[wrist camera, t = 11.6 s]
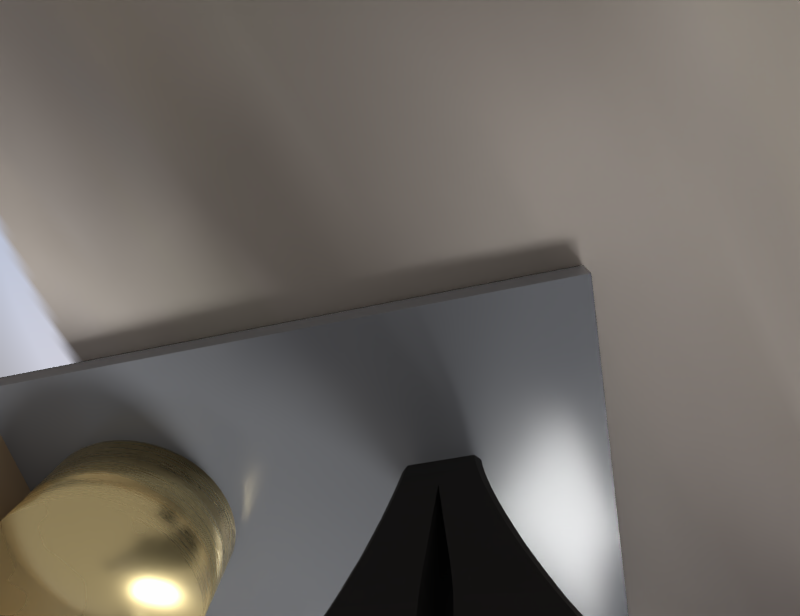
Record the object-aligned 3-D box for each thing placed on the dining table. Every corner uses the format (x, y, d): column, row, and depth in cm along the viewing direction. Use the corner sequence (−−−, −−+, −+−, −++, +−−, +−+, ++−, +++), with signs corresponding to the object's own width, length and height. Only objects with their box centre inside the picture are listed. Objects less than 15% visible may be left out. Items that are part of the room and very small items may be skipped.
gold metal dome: (200, 426, 11) (157, 486, 9) (259, 584, 12) (230, 663, 10) (13, 455, 11) (-62, 518, 9) (89, 605, 12) (35, 683, 11)
